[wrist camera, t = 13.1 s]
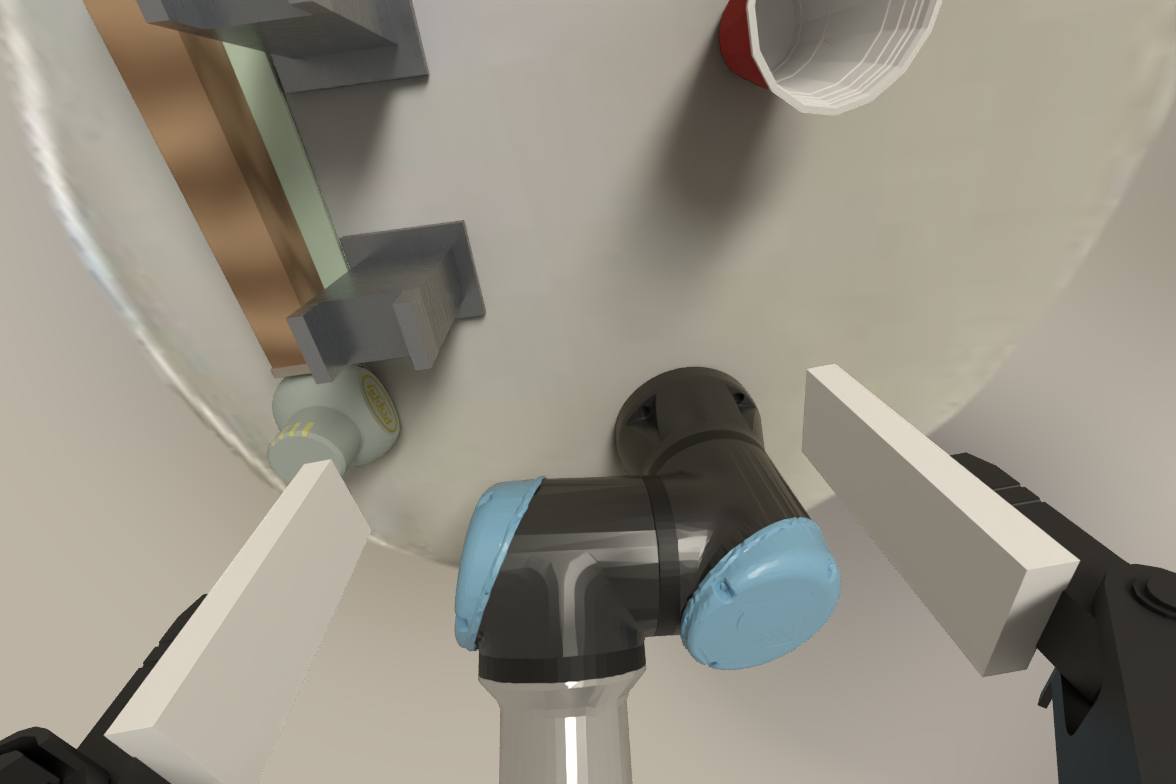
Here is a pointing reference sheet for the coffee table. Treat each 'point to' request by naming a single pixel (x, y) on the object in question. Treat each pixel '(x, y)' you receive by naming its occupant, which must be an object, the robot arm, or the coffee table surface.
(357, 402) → the air freshener
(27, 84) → the coffee table surface
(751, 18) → the plastic cup
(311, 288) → the rail
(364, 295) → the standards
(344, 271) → the mat
